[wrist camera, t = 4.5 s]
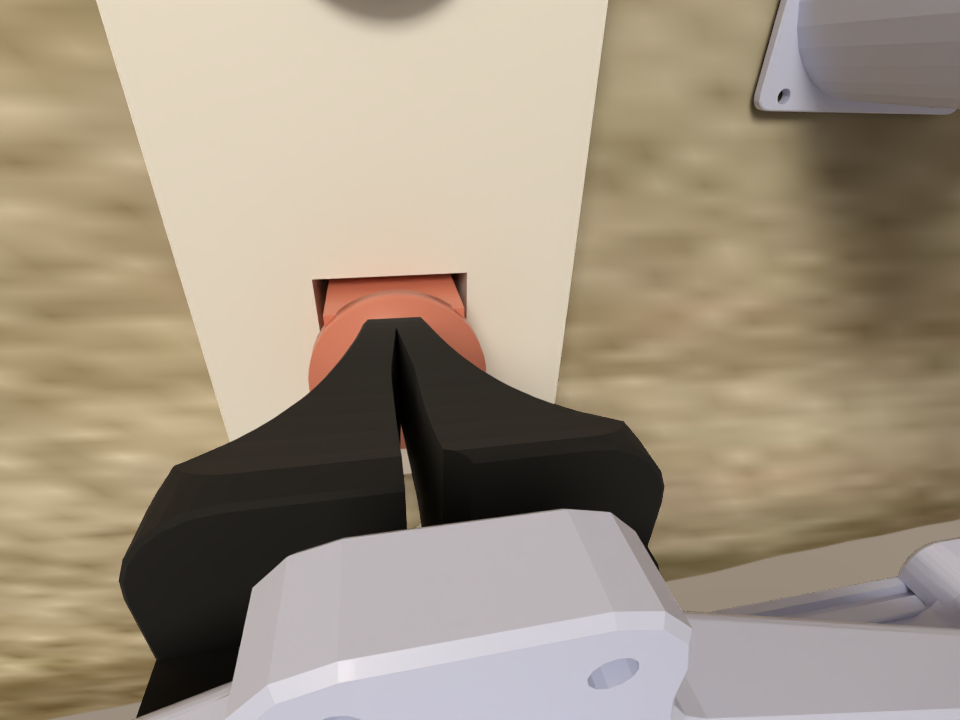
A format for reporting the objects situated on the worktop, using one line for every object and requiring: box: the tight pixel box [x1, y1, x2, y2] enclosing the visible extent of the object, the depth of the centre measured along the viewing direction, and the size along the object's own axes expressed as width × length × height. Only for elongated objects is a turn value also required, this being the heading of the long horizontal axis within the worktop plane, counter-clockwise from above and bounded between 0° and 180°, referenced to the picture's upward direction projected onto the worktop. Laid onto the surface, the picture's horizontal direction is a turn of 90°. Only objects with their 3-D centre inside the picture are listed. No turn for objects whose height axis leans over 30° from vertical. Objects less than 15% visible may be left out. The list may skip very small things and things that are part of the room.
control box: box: [96, 0, 608, 474], centre depth 15 cm, size 12×24×4 cm, turn 179°
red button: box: [308, 273, 486, 449], centre depth 16 cm, size 5×5×5 cm
